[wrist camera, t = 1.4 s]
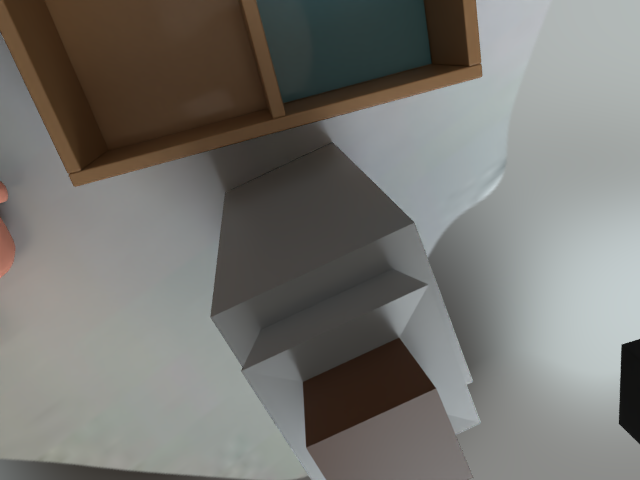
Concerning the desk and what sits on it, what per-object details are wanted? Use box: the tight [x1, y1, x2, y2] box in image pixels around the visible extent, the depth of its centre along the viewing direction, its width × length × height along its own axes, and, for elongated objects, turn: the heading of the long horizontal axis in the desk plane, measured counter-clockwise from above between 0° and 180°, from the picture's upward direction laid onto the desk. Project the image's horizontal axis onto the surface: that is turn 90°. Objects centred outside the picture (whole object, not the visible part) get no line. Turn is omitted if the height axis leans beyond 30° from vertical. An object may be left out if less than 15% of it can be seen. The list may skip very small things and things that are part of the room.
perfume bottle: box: [211, 142, 481, 480], centre depth 19 cm, size 7×7×18 cm
